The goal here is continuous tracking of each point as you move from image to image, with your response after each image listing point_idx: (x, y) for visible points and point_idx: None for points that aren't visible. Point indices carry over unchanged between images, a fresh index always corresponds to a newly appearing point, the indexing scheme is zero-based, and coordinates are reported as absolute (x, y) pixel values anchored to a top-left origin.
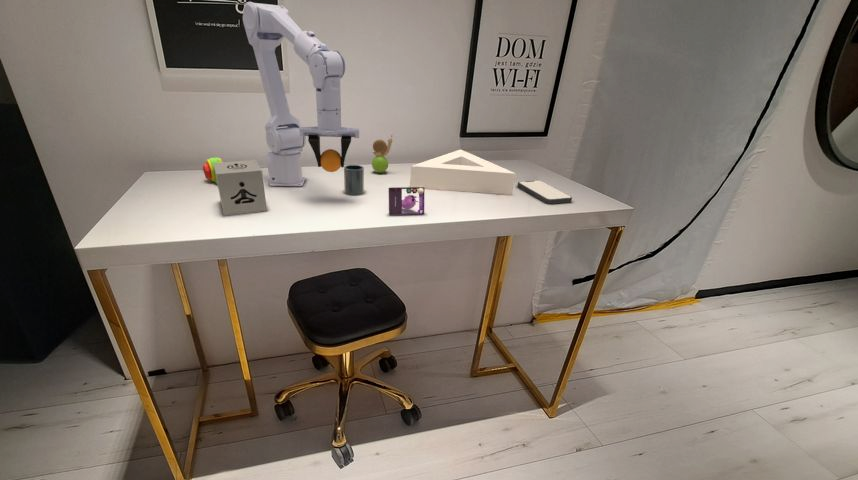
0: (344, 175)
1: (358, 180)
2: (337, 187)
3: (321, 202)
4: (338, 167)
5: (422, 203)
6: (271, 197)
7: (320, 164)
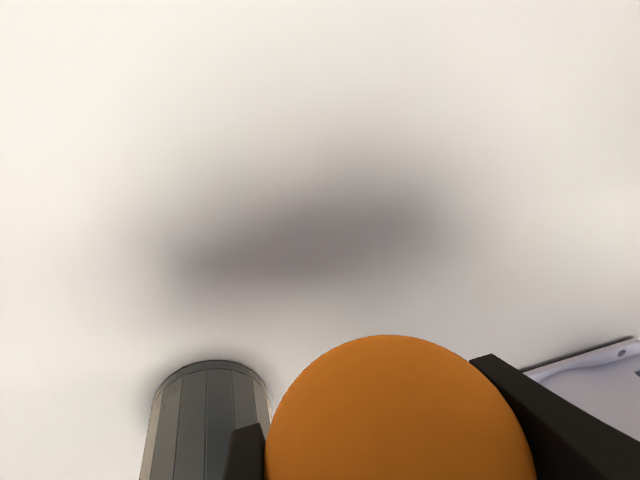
0: None
1: (160, 451)
2: None
3: (359, 199)
4: (282, 398)
5: None
6: (626, 201)
7: (485, 372)
